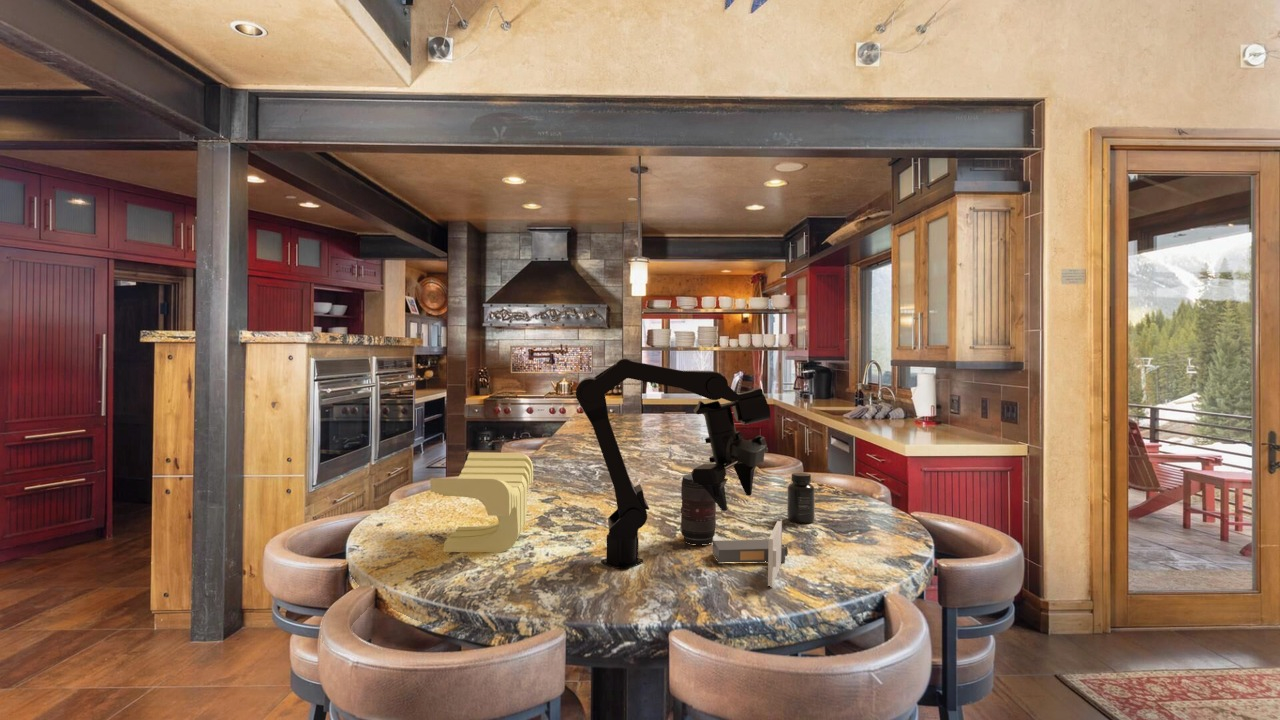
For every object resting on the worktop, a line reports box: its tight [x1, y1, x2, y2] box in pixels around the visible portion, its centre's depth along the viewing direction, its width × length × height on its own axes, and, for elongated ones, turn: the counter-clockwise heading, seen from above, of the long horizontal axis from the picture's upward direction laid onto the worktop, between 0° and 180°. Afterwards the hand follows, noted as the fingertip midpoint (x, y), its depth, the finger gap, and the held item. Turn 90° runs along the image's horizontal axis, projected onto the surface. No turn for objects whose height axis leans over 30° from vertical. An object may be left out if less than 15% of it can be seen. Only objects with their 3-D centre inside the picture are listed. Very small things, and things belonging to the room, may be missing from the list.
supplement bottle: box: [787, 472, 816, 524], centre depth 162 cm, size 7×7×12 cm
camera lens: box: [680, 473, 717, 545], centre depth 144 cm, size 8×8×15 cm
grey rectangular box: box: [712, 539, 789, 563], centre depth 133 cm, size 15×6×3 cm, turn 95°
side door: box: [767, 518, 783, 588], centre depth 124 cm, size 14×1×9 cm, turn 160°
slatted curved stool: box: [429, 451, 534, 553], centre depth 142 cm, size 30×16×18 cm, turn 1°
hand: (737, 502), depth 132 cm, fingers open, 9 cm apart
